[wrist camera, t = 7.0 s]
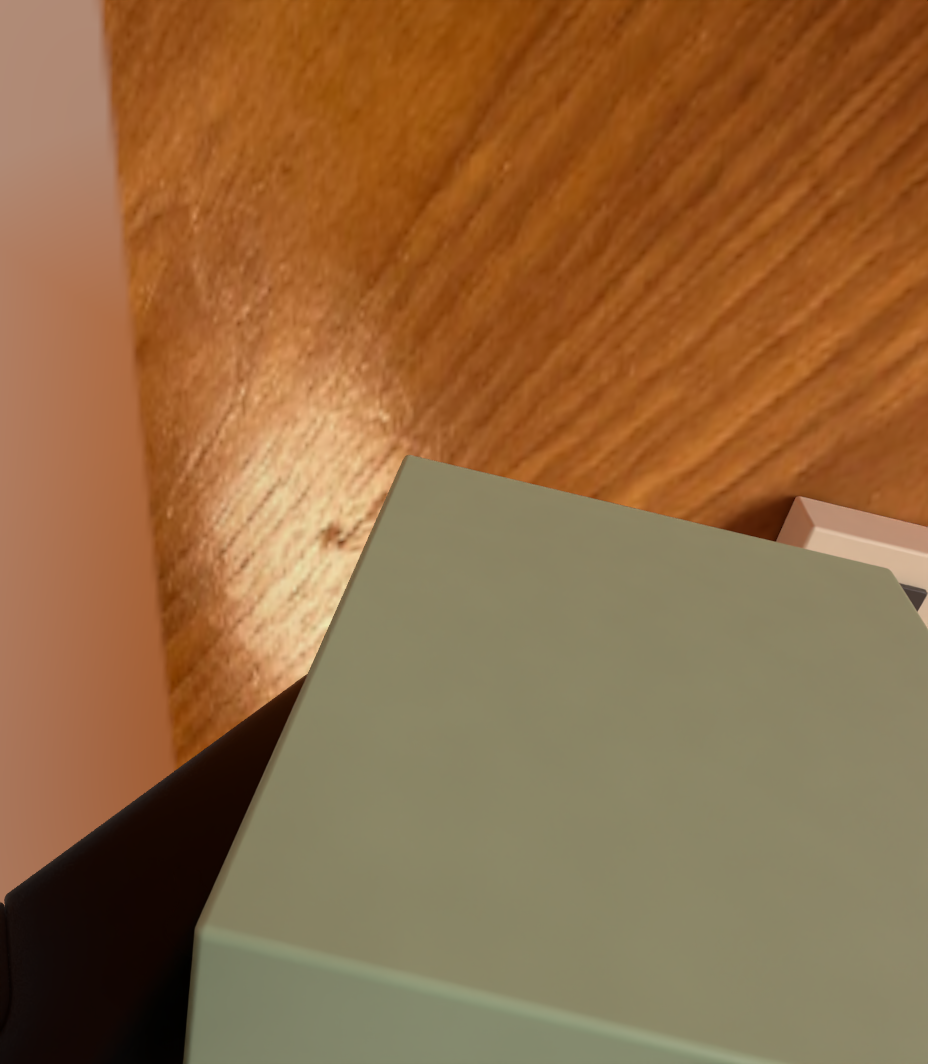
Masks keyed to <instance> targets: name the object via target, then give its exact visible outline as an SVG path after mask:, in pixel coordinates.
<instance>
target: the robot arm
mask: <svg viewBox="0 0 928 1064" xmlns="http://www.w3.org/2000/svg"><path fill="white" fill-rule="evenodd" d="M307 675H308V674H307ZM307 675H305V676H304V677H302V678H301V679H300V680H298V681H297V682H296V683H294V684H293V685H292V686H290V687H289V688H287V689H286V690H285V691H283V692H282V693H281V694H279V695H278V696H277V697H275V698H274V699H272V700H271V701H270V702H268V703H267V704H266V705H264V706H263V707H262V708H260V709H259V710H257V711H256V712H255V713H253V714H252V715H251V716H249V717H248V718H247V719H245V720H244V721H242V722H241V723H240V724H238V725H237V726H236V727H234V728H233V729H232V730H230V731H229V732H227V733H226V734H225V735H223V736H222V737H221V738H219V739H218V740H217V741H215V742H214V743H212V744H211V745H210V746H208V747H207V748H206V749H204V750H203V751H202V752H200V753H199V754H197V755H196V756H195V757H193V758H192V759H191V760H189V761H188V762H187V763H185V764H184V765H182V766H181V767H180V768H178V769H177V770H176V771H174V772H173V773H172V774H170V775H169V776H167V777H166V778H165V779H163V780H162V781H161V782H159V783H158V784H157V785H155V786H154V787H152V788H151V789H150V790H148V791H147V792H146V793H144V794H143V795H141V796H140V797H139V798H137V799H136V800H135V801H133V802H132V803H131V804H130V805H128V806H127V807H125V808H124V809H122V810H121V811H120V812H119V813H117V814H116V815H114V816H113V817H112V818H110V819H109V820H108V821H106V822H105V823H103V824H102V825H101V826H99V827H98V828H96V829H95V830H94V831H93V832H91V833H90V834H88V835H87V836H86V837H84V838H83V839H81V840H80V841H79V842H77V843H76V844H75V845H73V846H72V847H71V848H69V849H68V850H66V851H65V852H64V853H62V854H61V855H60V856H58V857H57V858H56V859H54V860H53V861H52V862H50V863H49V864H47V865H46V866H45V867H43V868H42V869H41V870H39V871H38V872H36V873H35V874H34V875H32V876H31V877H30V878H28V879H27V880H26V881H24V882H23V883H21V884H20V885H19V886H17V887H16V888H15V889H13V890H12V891H11V892H9V893H8V894H7V895H6V896H5V899H4V901H5V907H4V904H3V903H0V1064H183V1059H184V1047H185V1036H186V1024H187V1013H188V1001H189V990H190V978H191V967H192V956H193V944H194V933H195V927H196V924H197V922H198V920H199V918H200V915H201V913H202V911H203V909H204V906H205V904H206V902H207V900H208V897H209V895H210V893H211V891H212V888H213V886H214V884H215V882H216V879H217V877H218V875H219V873H220V870H221V868H222V866H223V864H224V861H225V859H226V857H227V855H228V852H229V850H230V848H231V846H232V843H233V841H234V839H235V837H236V834H237V832H238V830H239V828H240V825H241V823H242V821H243V819H244V816H245V814H246V812H247V810H248V807H249V805H250V803H251V801H252V798H253V796H254V794H255V792H256V789H257V787H258V785H259V783H260V780H261V778H262V776H263V774H264V771H265V769H266V767H267V765H268V762H269V760H270V758H271V756H272V753H273V751H274V749H275V747H276V744H277V742H278V740H279V738H280V735H281V733H282V731H283V729H284V726H285V724H286V722H287V720H288V717H289V715H290V713H291V711H292V708H293V706H294V704H295V702H296V699H297V697H298V695H299V693H300V690H301V688H302V686H303V684H304V681H305V679H306V677H307Z"/></svg>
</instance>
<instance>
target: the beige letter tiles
mask: <svg viewBox="0 0 928 1064" xmlns="http://www.w3.org/2000/svg"><path fill="white" fill-rule="evenodd" d="M776 542H778V543H783V544H787V545H791V546H795V547H799V548H804V549H808V550H812V551H816V552H820V553H825V554H829V555H833V556H837V557H841V558H846V559H850V560H854V561H858V562H863V563H867V564H871V565H875V566H879V567H884V568H887V569H889V570H891V571H892V572H893V574H894V576H895V577H896V579H897V580H898V582H899V584H900V585H901V587H902V588H903V590H904V591H905V593H906V595H907V596H908V598H909V599H910V601H911V603H912V604H913V606H914V607H915V609H916V611H917V612H918V614H919V615H920V617H921V618H922V620H923V622H924V623H925V625H926V626H927V628H928V527H925V526H921V525H917V524H913V523H909V522H904V521H900V520H896V519H892V518H888V517H884V516H880V515H875V514H871V513H867V512H863V511H859V510H855V509H851V508H846V507H842V506H838V505H834V504H830V503H826V502H822V501H818V500H813V499H809V498H805V497H801V496H797V497H796V498H795V500H794V502H793V504H792V507H791V509H790V511H789V513H788V516H787V518H786V520H785V522H784V525H783V527H782V529H781V531H780V533H779V536H778V538H777V540H776Z"/></svg>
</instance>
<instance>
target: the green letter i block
mask: <svg viewBox="0 0 928 1064" xmlns="http://www.w3.org/2000/svg"><path fill="white" fill-rule="evenodd" d="M183 1064H928V628H927V626H926V625H925V623H924V622H923V620H922V618H921V617H920V615H919V614H918V612H917V611H916V609H915V607H914V606H913V604H912V603H911V601H910V599H909V598H908V596H907V595H906V593H905V591H904V590H903V588H902V587H901V585H900V584H899V582H898V580H897V579H896V577H895V576H894V574H893V572H892V571H891V570H889V569H887V568H884V567H879V566H875V565H871V564H867V563H863V562H858V561H854V560H850V559H846V558H841V557H837V556H833V555H829V554H825V553H820V552H816V551H812V550H808V549H804V548H799V547H795V546H791V545H787V544H783V543H778V542H774V541H770V540H766V539H761V538H757V537H753V536H749V535H745V534H740V533H736V532H732V531H728V530H724V529H719V528H715V527H711V526H707V525H703V524H698V523H694V522H690V521H686V520H682V519H677V518H673V517H669V516H665V515H660V514H656V513H652V512H648V511H644V510H639V509H635V508H631V507H627V506H623V505H618V504H614V503H610V502H606V501H602V500H597V499H593V498H589V497H585V496H581V495H576V494H572V493H568V492H564V491H559V490H555V489H551V488H547V487H543V486H538V485H534V484H530V483H526V482H522V481H517V480H513V479H509V478H505V477H501V476H496V475H492V474H488V473H484V472H480V471H475V470H471V469H467V468H463V467H458V466H454V465H450V464H446V463H442V462H437V461H433V460H429V459H425V458H421V457H416V456H412V455H407V456H405V458H404V459H403V461H402V463H401V465H400V468H399V470H398V472H397V474H396V477H395V479H394V481H393V483H392V486H391V488H390V490H389V492H388V495H387V497H386V499H385V501H384V504H383V506H382V508H381V510H380V513H379V515H378V517H377V519H376V522H375V524H374V526H373V528H372V531H371V533H370V535H369V537H368V540H367V542H366V544H365V546H364V549H363V551H362V553H361V555H360V558H359V560H358V562H357V564H356V567H355V569H354V571H353V573H352V576H351V578H350V580H349V582H348V585H347V587H346V589H345V591H344V594H343V596H342V598H341V600H340V603H339V605H338V607H337V609H336V612H335V614H334V616H333V618H332V621H331V623H330V625H329V627H328V630H327V632H326V634H325V636H324V639H323V641H322V643H321V645H320V648H319V650H318V652H317V654H316V657H315V659H314V661H313V663H312V666H311V668H310V670H309V672H308V675H307V677H306V679H305V681H304V684H303V686H302V688H301V690H300V693H299V695H298V697H297V699H296V702H295V704H294V706H293V708H292V711H291V713H290V715H289V717H288V720H287V722H286V724H285V726H284V729H283V731H282V733H281V735H280V738H279V740H278V742H277V744H276V747H275V749H274V751H273V753H272V756H271V758H270V760H269V762H268V765H267V767H266V769H265V771H264V774H263V776H262V778H261V780H260V783H259V785H258V787H257V789H256V792H255V794H254V796H253V798H252V801H251V803H250V805H249V807H248V810H247V812H246V814H245V816H244V819H243V821H242V823H241V825H240V828H239V830H238V832H237V834H236V837H235V839H234V841H233V843H232V846H231V848H230V850H229V852H228V855H227V857H226V859H225V861H224V864H223V866H222V868H221V870H220V873H219V875H218V877H217V879H216V882H215V884H214V886H213V888H212V891H211V893H210V895H209V897H208V900H207V902H206V904H205V906H204V909H203V911H202V913H201V915H200V918H199V920H198V922H197V924H196V927H195V933H194V944H193V956H192V967H191V978H190V990H189V1001H188V1013H187V1024H186V1036H185V1047H184V1059H183Z"/></svg>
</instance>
